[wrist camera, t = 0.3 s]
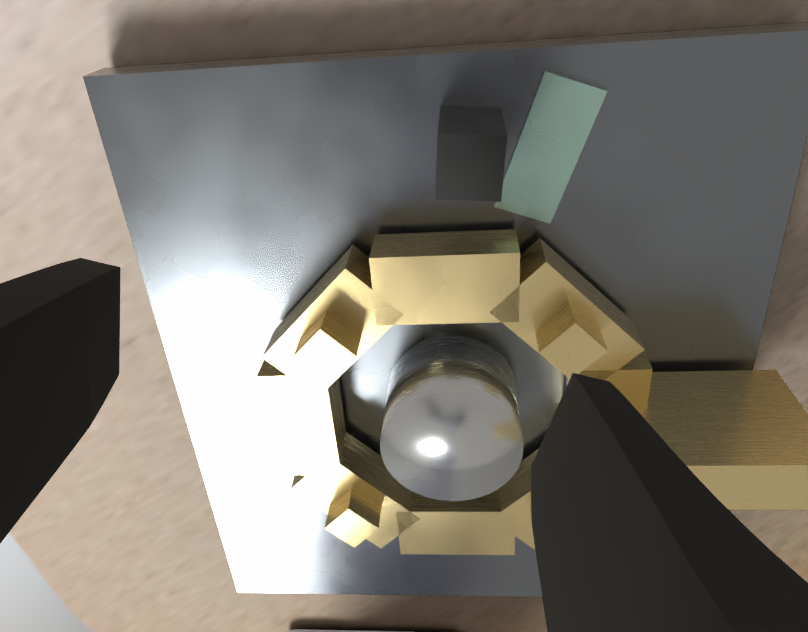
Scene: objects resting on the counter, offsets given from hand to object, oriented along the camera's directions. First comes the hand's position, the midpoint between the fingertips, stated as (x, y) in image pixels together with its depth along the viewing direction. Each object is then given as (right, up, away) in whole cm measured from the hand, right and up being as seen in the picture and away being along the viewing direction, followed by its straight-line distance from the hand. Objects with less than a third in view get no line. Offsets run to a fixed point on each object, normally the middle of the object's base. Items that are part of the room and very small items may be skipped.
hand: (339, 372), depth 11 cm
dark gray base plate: (+3, -1, +11) cm, 12 cm away
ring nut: (+4, -1, +10) cm, 11 cm away
